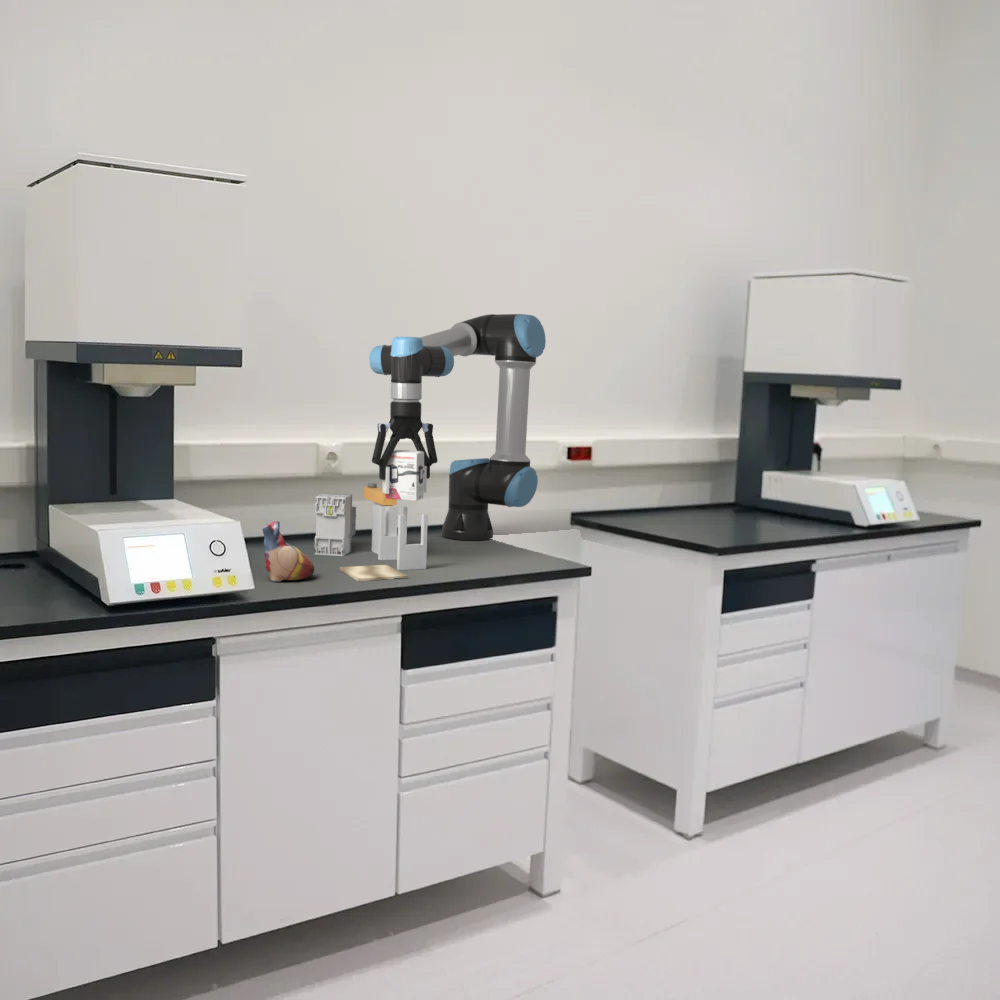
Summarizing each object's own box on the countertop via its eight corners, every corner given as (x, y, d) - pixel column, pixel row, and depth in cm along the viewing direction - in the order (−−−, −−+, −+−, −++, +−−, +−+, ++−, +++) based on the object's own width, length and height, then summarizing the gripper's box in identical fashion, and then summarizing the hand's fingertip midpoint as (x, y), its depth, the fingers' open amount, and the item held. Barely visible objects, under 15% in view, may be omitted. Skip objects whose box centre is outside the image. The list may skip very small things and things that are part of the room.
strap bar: (376, 497, 269) (376, 482, 268) (396, 505, 255) (396, 489, 255) (363, 497, 267) (364, 483, 267) (383, 505, 254) (383, 489, 253)
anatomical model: (305, 589, 219) (284, 526, 215) (269, 594, 222) (247, 533, 218) (321, 570, 228) (301, 510, 224) (287, 576, 231) (266, 516, 226)
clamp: (388, 550, 266) (389, 500, 265) (426, 568, 243) (427, 514, 241) (363, 551, 263) (364, 501, 262) (399, 570, 240) (400, 515, 238)
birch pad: (386, 567, 243) (386, 564, 243) (407, 578, 231) (407, 575, 230) (339, 569, 238) (339, 567, 238) (357, 581, 225) (357, 578, 225)
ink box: (384, 498, 245) (385, 450, 244) (392, 496, 250) (393, 449, 248) (416, 501, 243) (417, 452, 241) (424, 498, 247) (425, 451, 246)
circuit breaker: (356, 547, 270) (357, 492, 268) (343, 556, 255) (344, 498, 254) (329, 545, 270) (330, 490, 268) (314, 554, 256) (315, 496, 254)
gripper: (441, 400, 251) (439, 489, 254) (358, 399, 241) (357, 491, 244) (453, 401, 244) (451, 492, 248) (368, 401, 235) (367, 495, 238)
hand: (404, 492), depth 246 cm, fingers closed on ink box, 9 cm apart
